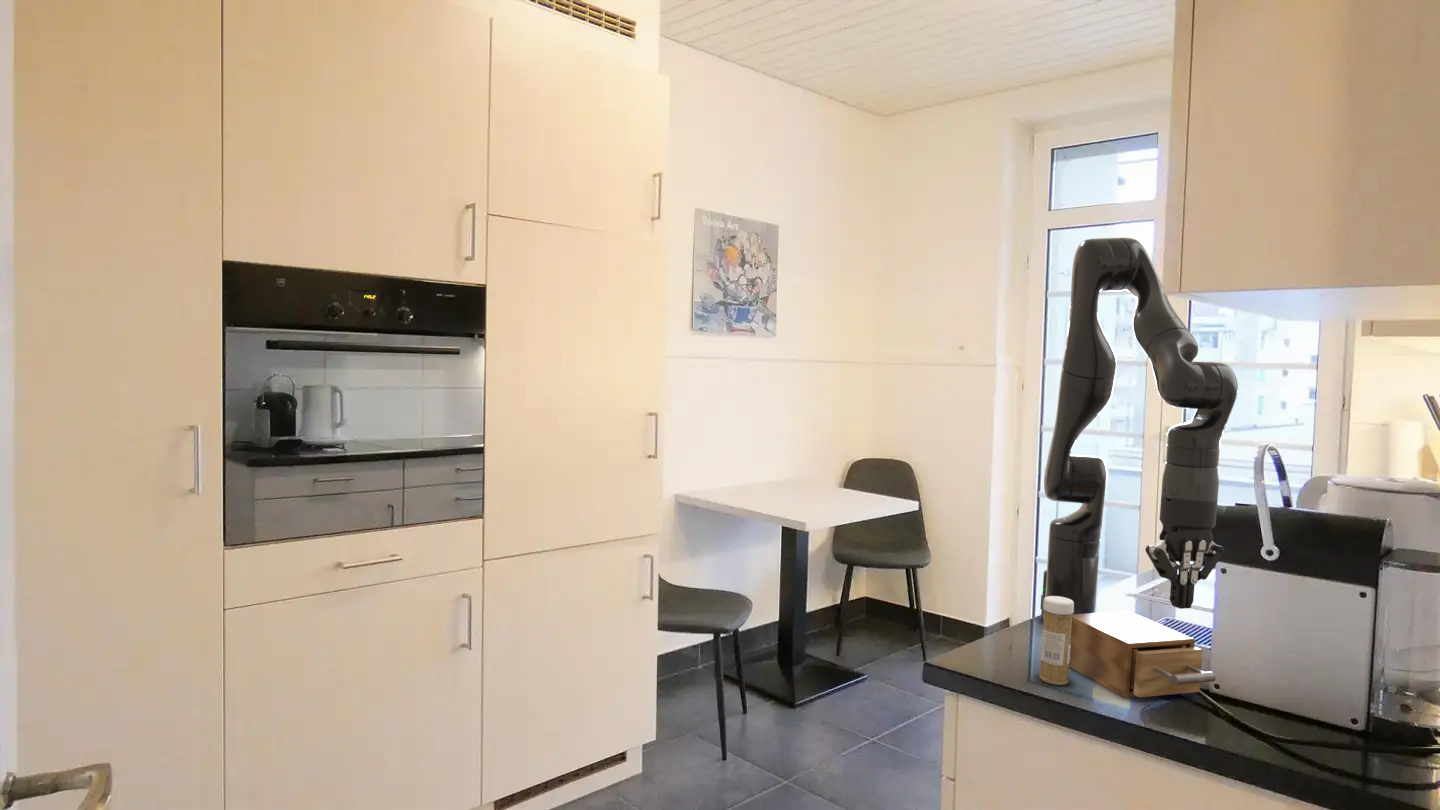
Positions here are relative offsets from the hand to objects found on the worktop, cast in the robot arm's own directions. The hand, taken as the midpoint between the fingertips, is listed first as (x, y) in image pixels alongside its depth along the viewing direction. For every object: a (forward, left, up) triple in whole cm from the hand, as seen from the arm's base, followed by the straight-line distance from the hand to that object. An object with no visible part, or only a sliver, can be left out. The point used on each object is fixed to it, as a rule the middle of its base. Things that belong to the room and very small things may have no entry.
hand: (1180, 606), depth 134 cm
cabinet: (-10, 0, -15) cm, 18 cm away
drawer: (-5, 0, -14) cm, 15 cm away
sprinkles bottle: (-11, -13, -15) cm, 23 cm away
